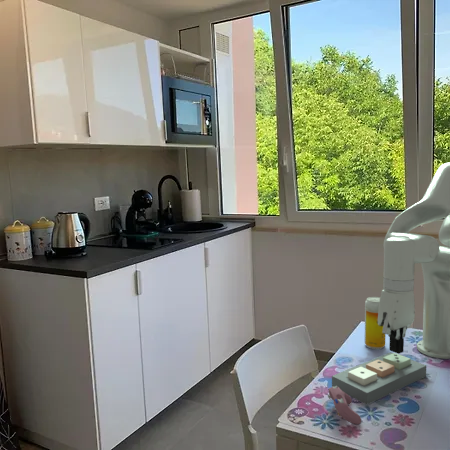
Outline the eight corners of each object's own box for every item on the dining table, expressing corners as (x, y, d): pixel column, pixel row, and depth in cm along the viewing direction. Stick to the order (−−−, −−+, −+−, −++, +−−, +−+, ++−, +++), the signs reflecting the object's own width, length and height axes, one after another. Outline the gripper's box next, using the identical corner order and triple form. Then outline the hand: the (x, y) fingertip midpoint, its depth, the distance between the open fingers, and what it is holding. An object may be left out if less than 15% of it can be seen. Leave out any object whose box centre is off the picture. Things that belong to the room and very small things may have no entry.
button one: (360, 377, 120) (360, 366, 119) (376, 384, 116) (377, 373, 115) (347, 383, 117) (347, 371, 117) (363, 390, 113) (363, 379, 112)
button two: (378, 370, 124) (378, 359, 123) (394, 376, 120) (394, 365, 119) (365, 375, 121) (366, 364, 120) (381, 382, 117) (382, 371, 116)
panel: (390, 362, 132) (390, 352, 131) (426, 376, 123) (426, 365, 122) (331, 387, 118) (331, 375, 118) (367, 404, 109) (367, 392, 109)
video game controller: (335, 409, 111) (322, 384, 110) (352, 400, 110) (339, 376, 110) (345, 433, 101) (330, 406, 100) (364, 424, 101) (349, 397, 100)
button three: (394, 363, 128) (394, 352, 127) (410, 369, 123) (410, 358, 123) (382, 368, 125) (383, 357, 124) (398, 374, 121) (399, 363, 120)
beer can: (386, 350, 140) (387, 302, 138) (365, 349, 141) (366, 301, 139) (383, 342, 145) (384, 296, 143) (363, 341, 147) (364, 296, 145)
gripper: (403, 277, 128) (401, 341, 131) (368, 286, 120) (366, 353, 122) (428, 282, 122) (425, 349, 124) (393, 292, 114) (390, 363, 116)
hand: (396, 351), depth 123 cm, fingers closed
